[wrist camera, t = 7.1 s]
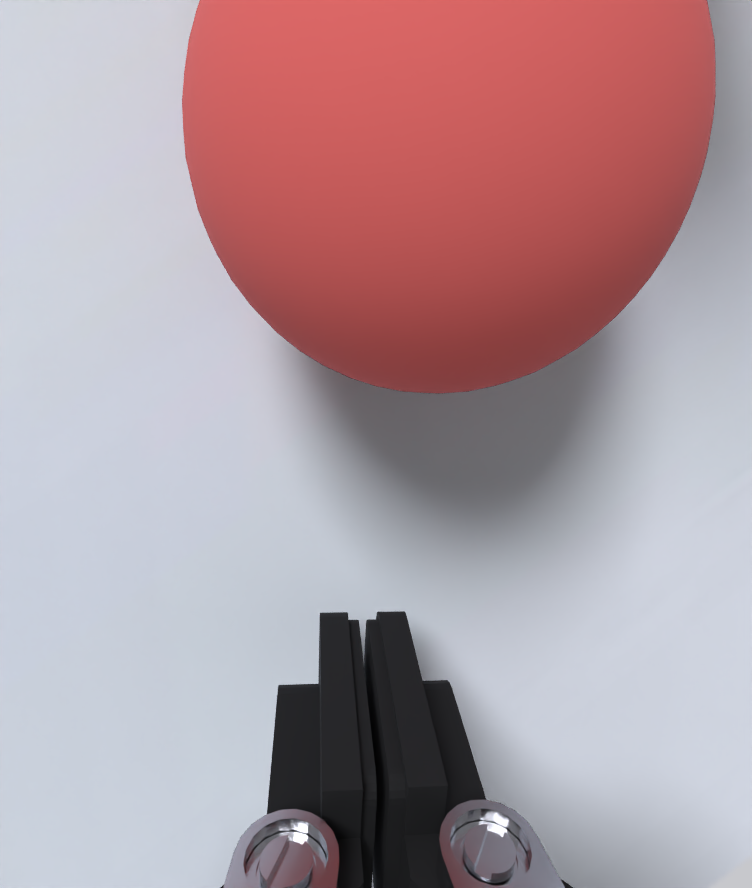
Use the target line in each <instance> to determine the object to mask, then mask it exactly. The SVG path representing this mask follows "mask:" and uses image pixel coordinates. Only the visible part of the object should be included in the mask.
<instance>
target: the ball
mask: <svg viewBox="0 0 752 888" xmlns="http://www.w3.org/2000/svg"><path fill="white" fill-rule="evenodd" d="M714 105H715V43H714V35H713V30H712V24H711V19H710V14H709V8H708V3H707V0H200V2H199V5H198V8H197V11H196V14H195V18H194V22H193V26H192V30H191V34H190V38H189V43H188V50H187V57H186V64H185V71H184V84H183V96H182V108H183V130H184V143H185V155H186V161H187V165H188V169H189V174H190V178H191V182H192V187H193V191H194V195H195V199H196V203H197V207H198V211H199V213H200V216H201V218H202V221H203V223H204V226H205V228H206V231H207V233H208V236H209V238H210V241H211V243H212V245H213V247H214V249H215V251H216V253H217V255H218V257H219V258H220V260H221V262H222V264H223V266H224V267H225V269H226V271H227V273H228V274H229V276H230V278H231V280H232V281H233V282H234V284H235V285H236V286H237V288H238V289H239V290H240V292H241V293H242V294H243V296H244V297H245V298H246V300H247V301H248V302H249V304H250V305H251V306H252V307H253V308H254V309H255V310H256V311H257V312H258V313H259V314H260V315H261V317H262V318H263V319H264V320H265V321H266V322H267V323H268V324H269V325H270V326H271V327H272V328H273V329H274V330H275V331H276V332H277V333H278V334H279V335H281V336H282V337H283V338H284V339H286V340H287V341H288V342H289V343H291V344H292V345H293V346H294V347H296V348H297V349H298V350H299V351H301V352H303V353H304V354H306V355H307V356H309V357H311V358H312V359H314V360H315V361H317V362H319V363H320V364H322V365H324V366H326V367H328V368H330V369H332V370H334V371H336V372H339V373H341V374H343V375H345V376H347V377H349V378H352V379H355V380H358V381H361V382H365V383H368V384H371V385H374V386H377V387H383V388H388V389H393V390H398V391H404V392H420V393H452V392H467V391H472V390H477V389H482V388H487V387H491V386H496V385H499V384H502V383H506V382H509V381H512V380H514V379H517V378H520V377H523V376H525V375H528V374H531V373H534V372H536V371H538V370H540V369H542V368H543V367H545V366H547V365H549V364H551V363H553V362H554V361H556V360H558V359H560V358H562V357H563V356H565V355H567V354H568V353H570V352H572V351H574V350H575V349H577V348H578V347H580V346H581V345H582V344H584V343H585V342H586V341H587V340H589V339H590V338H591V337H593V336H594V335H595V334H597V333H598V332H599V331H600V330H601V329H602V328H604V327H605V326H606V325H607V324H608V323H609V322H610V321H612V320H613V319H614V318H615V317H616V316H617V315H618V314H619V313H620V312H621V311H622V310H623V309H624V308H625V307H626V305H627V304H628V303H629V302H630V301H631V300H632V299H633V298H634V297H635V296H636V294H637V293H638V292H639V291H640V289H641V288H642V287H643V286H644V284H645V283H646V282H647V281H648V279H649V278H650V277H651V275H652V274H653V273H654V271H655V270H656V268H657V267H658V265H659V264H660V262H661V261H662V259H663V258H664V256H665V255H666V253H667V251H668V249H669V247H670V246H671V244H672V242H673V240H674V238H675V237H676V235H677V233H678V231H679V229H680V227H681V225H682V223H683V221H684V218H685V216H686V214H687V212H688V210H689V207H690V205H691V202H692V199H693V197H694V194H695V191H696V188H697V185H698V183H699V180H700V177H701V173H702V170H703V166H704V162H705V158H706V155H707V150H708V145H709V139H710V133H711V128H712V122H713V114H714Z"/></svg>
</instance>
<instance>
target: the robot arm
mask: <svg viewBox="0 0 752 888" xmlns="http://www.w3.org/2000/svg"><path fill="white" fill-rule="evenodd" d="M372 872H373V883H374V888H573V887H571V886H570V885H569V884H567V883H566V882H564V881H563V880H561V879H560V877H559V875H558V873H557V872H556V870H555V868H554V866H553V864H552V862H551V860H550V858H549V857H548V855H547V853H546V851H545V849H544V847H543V845H542V843H541V842H540V840H539V838H538V836H537V834H536V833H535V831H534V830H533V829H532V827H531V826H530V824H529V823H528V822H527V821H526V820H525V819H524V818H523V817H522V816H521V815H519V814H518V813H517V812H516V811H515V810H513V809H511V808H509V807H507V806H505V805H503V804H501V803H498V802H494V801H489V800H486V798H485V794H484V791H483V788H482V785H481V781H480V778H479V775H478V772H477V768H476V765H475V762H474V759H473V755H472V752H471V749H470V746H469V742H468V739H467V736H466V733H465V729H464V726H463V723H462V720H461V716H460V713H459V710H458V707H457V703H456V700H455V697H454V694H453V690H452V687H451V685H450V683H449V682H448V681H447V680H441V681H422V677H421V673H420V669H419V665H418V661H417V657H416V653H415V649H414V645H413V641H412V636H411V632H410V628H409V624H408V620H407V616H406V613H405V612H377V616H376V620H367V621H366V637H365V658H364V663H363V654H362V646H361V637H360V628H359V620H348V613H347V612H343V613H320V636H319V684H300V685H279V687H278V695H277V706H276V718H275V729H274V740H273V752H272V763H271V775H270V786H269V797H268V809H267V815H265V816H263V817H262V818H260V819H259V820H257V821H256V822H254V823H253V824H251V826H250V827H249V828H248V829H247V830H246V831H245V833H244V834H243V835H242V836H241V837H240V840H239V842H238V844H237V846H236V848H235V850H234V853H233V856H232V860H231V863H230V867H229V870H228V873H227V877H226V880H225V884H224V885H223V886H222V887H221V888H371V886H372Z"/></svg>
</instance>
